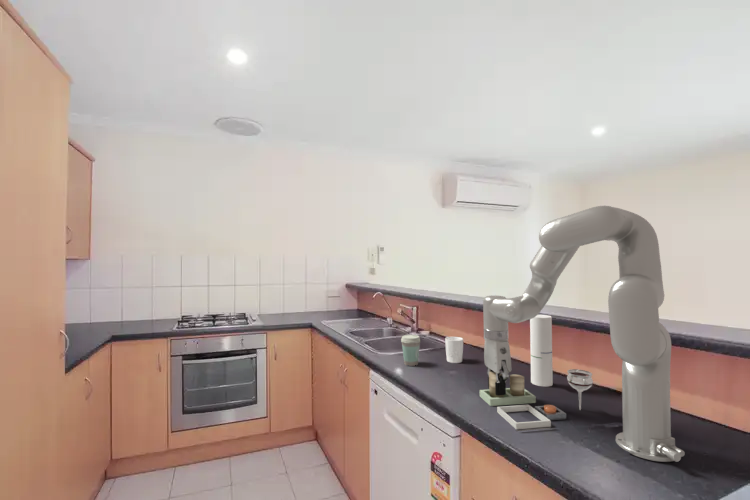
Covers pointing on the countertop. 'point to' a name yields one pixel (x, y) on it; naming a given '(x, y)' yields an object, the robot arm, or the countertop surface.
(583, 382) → the wineglass
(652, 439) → the robot arm
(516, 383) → the cylinder
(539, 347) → the cylindrical container
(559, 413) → the button housing
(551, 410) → the button
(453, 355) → the white cup
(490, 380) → the cylinder
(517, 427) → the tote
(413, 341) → the coffee cup
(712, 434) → the countertop surface
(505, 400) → the pale green flat tray
